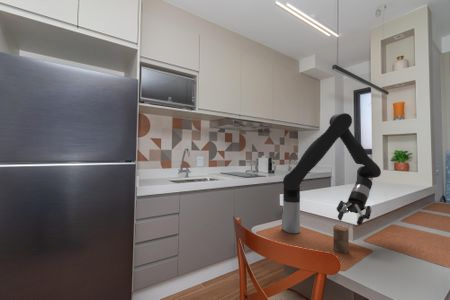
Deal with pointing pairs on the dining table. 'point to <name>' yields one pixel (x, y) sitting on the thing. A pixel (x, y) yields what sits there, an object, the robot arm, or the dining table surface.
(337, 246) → the brown cardboard box
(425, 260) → the dining table surface
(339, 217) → the robot arm
